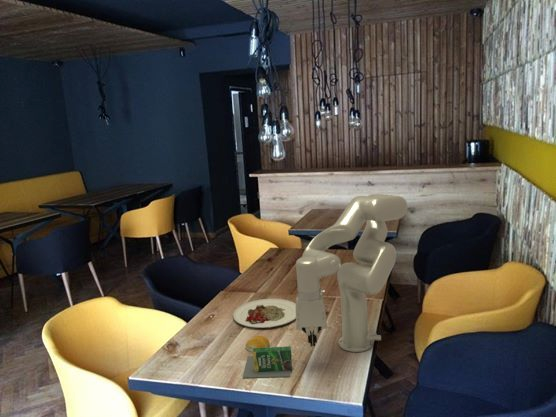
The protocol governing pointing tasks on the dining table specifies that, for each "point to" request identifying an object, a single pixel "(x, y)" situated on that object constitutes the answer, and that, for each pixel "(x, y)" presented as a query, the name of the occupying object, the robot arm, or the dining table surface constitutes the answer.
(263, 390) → the dining table surface
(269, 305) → the plated food
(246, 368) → the mat
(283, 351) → the coffee box
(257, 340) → the bread roll
